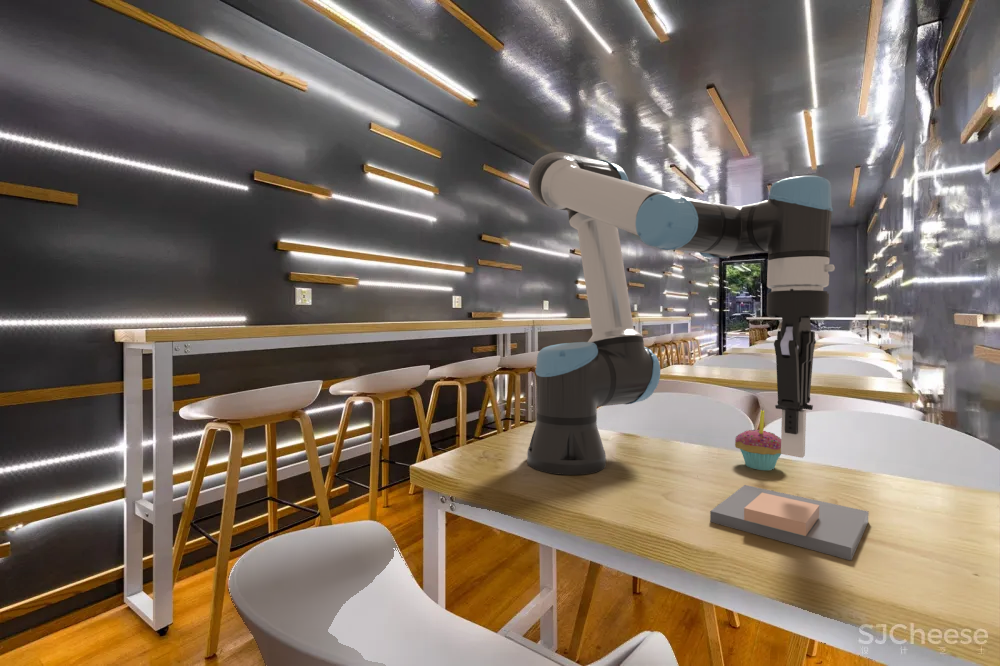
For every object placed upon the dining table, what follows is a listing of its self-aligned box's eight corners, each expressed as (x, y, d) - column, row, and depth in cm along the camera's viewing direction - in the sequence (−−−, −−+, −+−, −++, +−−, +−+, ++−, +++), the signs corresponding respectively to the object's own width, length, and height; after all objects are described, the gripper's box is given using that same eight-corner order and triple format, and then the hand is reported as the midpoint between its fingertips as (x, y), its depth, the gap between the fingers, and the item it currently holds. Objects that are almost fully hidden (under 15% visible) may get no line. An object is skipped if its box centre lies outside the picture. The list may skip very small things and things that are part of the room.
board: (710, 521, 67) (710, 511, 67) (744, 494, 78) (744, 484, 78) (851, 560, 56) (851, 547, 56) (868, 522, 67) (868, 511, 67)
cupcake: (792, 475, 88) (792, 409, 88) (741, 472, 90) (742, 408, 89) (775, 462, 96) (776, 402, 96) (729, 459, 98) (729, 400, 98)
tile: (761, 504, 70) (744, 521, 64) (761, 492, 70) (744, 508, 64) (819, 518, 65) (805, 537, 59) (819, 505, 65) (805, 523, 59)
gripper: (818, 286, 62) (813, 470, 62) (837, 291, 71) (832, 451, 72) (754, 288, 67) (750, 458, 67) (780, 292, 76) (776, 441, 77)
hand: (792, 454), depth 70 cm, fingers closed
